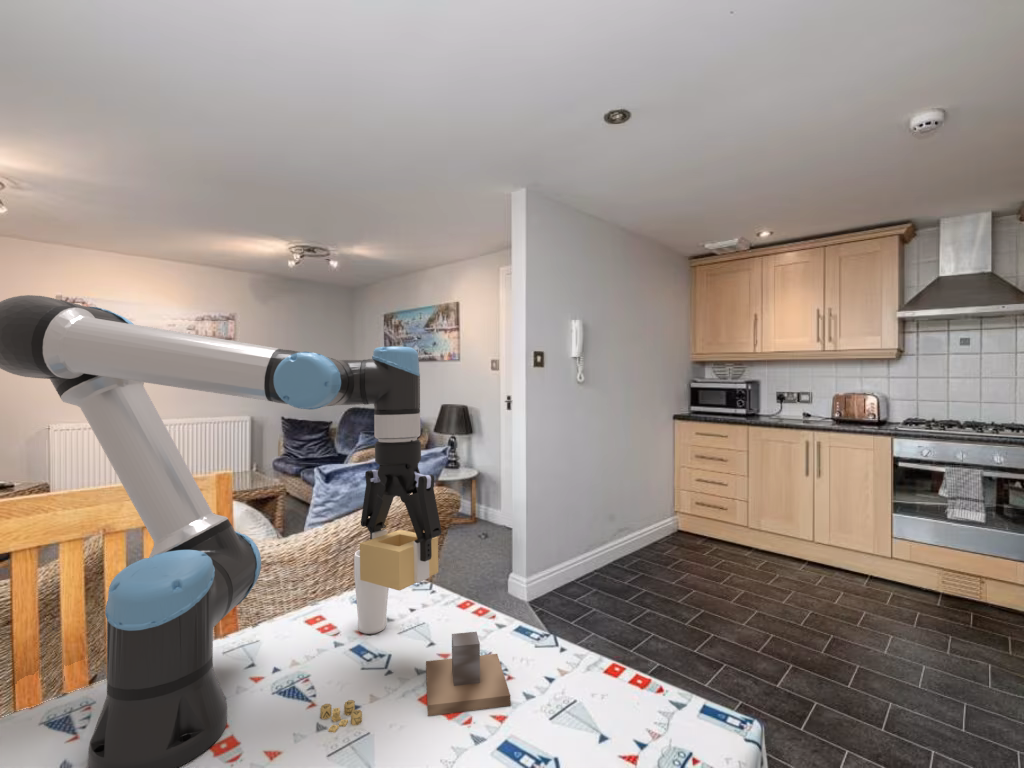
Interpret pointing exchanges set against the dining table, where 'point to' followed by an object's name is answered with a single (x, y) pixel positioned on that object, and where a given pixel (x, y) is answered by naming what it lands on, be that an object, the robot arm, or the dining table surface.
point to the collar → (393, 559)
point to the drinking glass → (369, 602)
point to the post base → (468, 692)
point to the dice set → (348, 710)
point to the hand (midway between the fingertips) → (400, 574)
